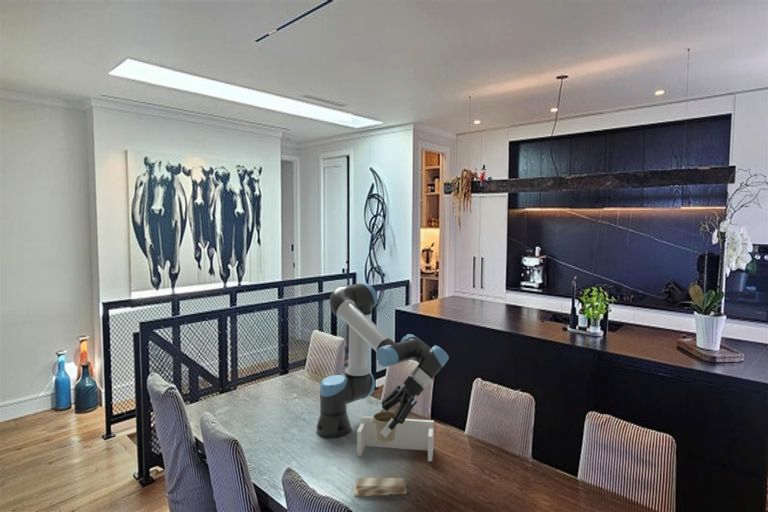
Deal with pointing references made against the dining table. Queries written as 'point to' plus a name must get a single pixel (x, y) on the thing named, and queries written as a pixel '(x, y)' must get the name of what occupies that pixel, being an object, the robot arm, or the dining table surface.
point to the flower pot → (381, 422)
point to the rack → (398, 435)
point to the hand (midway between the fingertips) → (378, 428)
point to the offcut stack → (379, 486)
